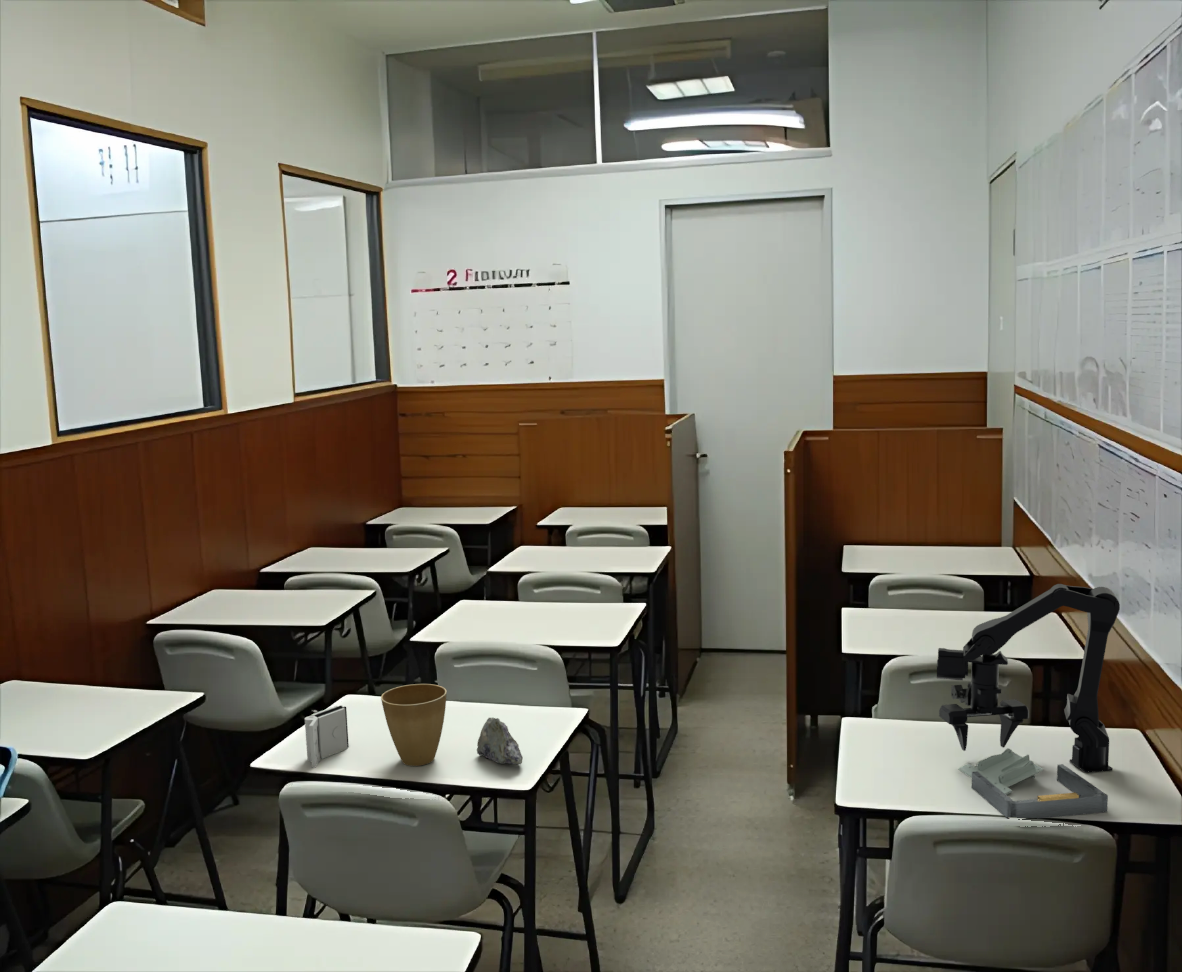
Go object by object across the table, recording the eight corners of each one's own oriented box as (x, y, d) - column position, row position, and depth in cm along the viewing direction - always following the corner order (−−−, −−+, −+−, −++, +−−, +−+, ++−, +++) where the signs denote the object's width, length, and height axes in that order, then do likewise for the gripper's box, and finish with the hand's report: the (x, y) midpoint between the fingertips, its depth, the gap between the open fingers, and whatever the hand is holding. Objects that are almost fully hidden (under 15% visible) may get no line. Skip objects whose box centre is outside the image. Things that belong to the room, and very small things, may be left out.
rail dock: (1062, 779, 234) (1062, 761, 233) (1107, 812, 218) (1108, 792, 218) (971, 787, 231) (971, 769, 231) (1010, 821, 215) (1011, 801, 215)
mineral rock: (522, 772, 246) (521, 729, 245) (474, 774, 246) (472, 731, 244) (523, 750, 259) (521, 709, 257) (477, 752, 258) (475, 711, 257)
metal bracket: (1006, 738, 243) (1051, 763, 229) (1011, 761, 245) (1057, 788, 230) (951, 764, 240) (993, 791, 226) (957, 787, 242) (1000, 815, 227)
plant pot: (448, 745, 263) (445, 680, 260) (450, 769, 248) (447, 701, 246) (385, 750, 260) (381, 685, 258) (383, 775, 246) (379, 706, 244)
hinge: (337, 766, 252) (334, 725, 250) (301, 767, 252) (299, 726, 250) (349, 745, 265) (347, 705, 263) (315, 746, 265) (313, 706, 263)
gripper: (1005, 667, 254) (1004, 732, 256) (928, 673, 251) (927, 738, 254) (1031, 682, 243) (1029, 750, 245) (951, 688, 240) (949, 757, 243)
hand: (983, 748), depth 247 cm, fingers open, 9 cm apart
